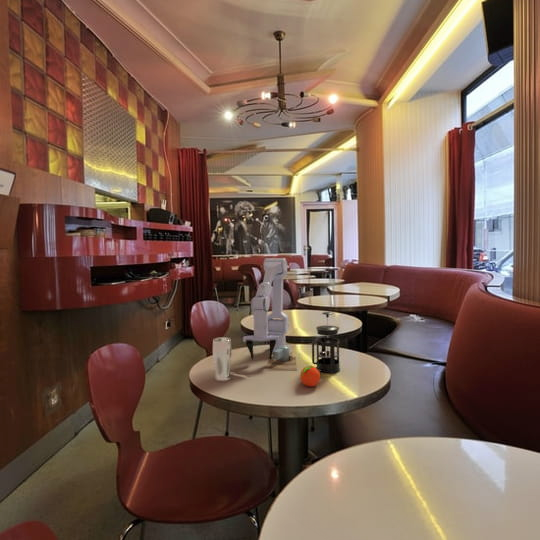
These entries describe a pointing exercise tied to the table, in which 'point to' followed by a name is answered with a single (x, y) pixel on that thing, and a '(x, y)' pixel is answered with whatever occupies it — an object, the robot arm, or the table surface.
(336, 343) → the french press
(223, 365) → the beer glass
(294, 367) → the cradle
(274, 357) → the grey block
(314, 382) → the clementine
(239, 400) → the table surface
